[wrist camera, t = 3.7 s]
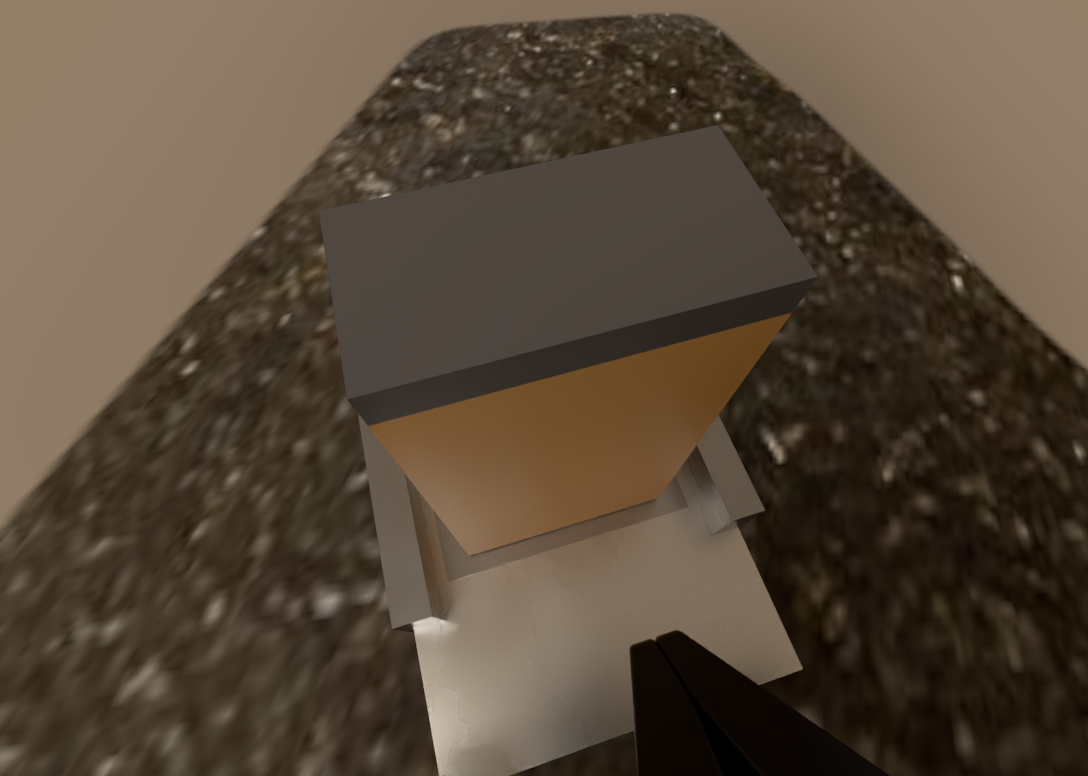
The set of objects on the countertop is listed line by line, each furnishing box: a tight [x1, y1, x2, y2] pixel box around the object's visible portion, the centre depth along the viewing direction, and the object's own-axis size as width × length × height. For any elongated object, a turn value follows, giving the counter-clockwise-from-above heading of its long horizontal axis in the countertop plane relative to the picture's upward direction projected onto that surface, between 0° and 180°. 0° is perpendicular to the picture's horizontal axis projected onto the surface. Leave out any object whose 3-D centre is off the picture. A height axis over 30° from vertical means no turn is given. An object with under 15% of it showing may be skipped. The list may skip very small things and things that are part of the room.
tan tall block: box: [319, 125, 818, 556], centre depth 12 cm, size 3×6×11 cm, turn 107°
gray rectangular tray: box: [358, 414, 803, 776], centre depth 16 cm, size 16×10×4 cm, turn 17°
